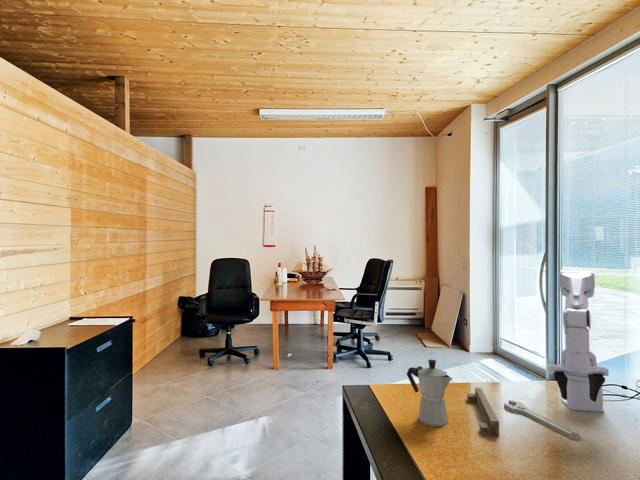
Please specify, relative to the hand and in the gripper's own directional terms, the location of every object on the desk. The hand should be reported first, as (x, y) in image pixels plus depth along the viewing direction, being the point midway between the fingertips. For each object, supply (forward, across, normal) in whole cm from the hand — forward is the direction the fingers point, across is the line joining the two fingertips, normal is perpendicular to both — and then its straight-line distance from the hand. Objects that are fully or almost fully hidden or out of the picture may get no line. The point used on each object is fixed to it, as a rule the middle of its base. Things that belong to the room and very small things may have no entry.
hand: (578, 399), depth 110 cm
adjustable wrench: (+9, -10, +4) cm, 14 cm away
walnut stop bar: (+8, -25, +4) cm, 27 cm away
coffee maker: (+9, -41, -2) cm, 42 cm away
